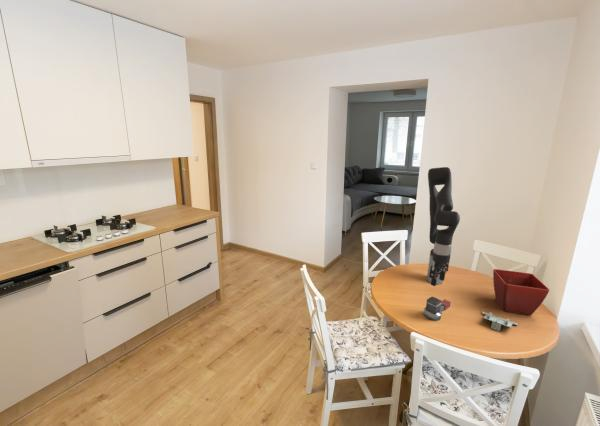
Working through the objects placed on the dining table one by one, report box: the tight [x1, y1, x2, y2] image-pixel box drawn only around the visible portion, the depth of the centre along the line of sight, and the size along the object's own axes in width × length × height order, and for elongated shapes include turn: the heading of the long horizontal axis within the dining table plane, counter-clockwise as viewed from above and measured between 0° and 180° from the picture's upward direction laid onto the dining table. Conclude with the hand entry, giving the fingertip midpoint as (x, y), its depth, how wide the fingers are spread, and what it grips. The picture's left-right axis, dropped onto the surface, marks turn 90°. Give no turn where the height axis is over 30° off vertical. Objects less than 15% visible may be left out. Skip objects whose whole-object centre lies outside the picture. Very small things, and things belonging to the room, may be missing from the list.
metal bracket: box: [481, 311, 519, 332], centre depth 145 cm, size 14×6×15 cm
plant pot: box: [492, 268, 550, 316], centre depth 157 cm, size 19×19×17 cm
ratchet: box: [423, 299, 452, 322], centre depth 153 cm, size 20×8×6 cm, turn 129°
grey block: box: [425, 296, 443, 315], centre depth 148 cm, size 5×5×6 cm
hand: (437, 282), depth 145 cm, fingers open, 8 cm apart
